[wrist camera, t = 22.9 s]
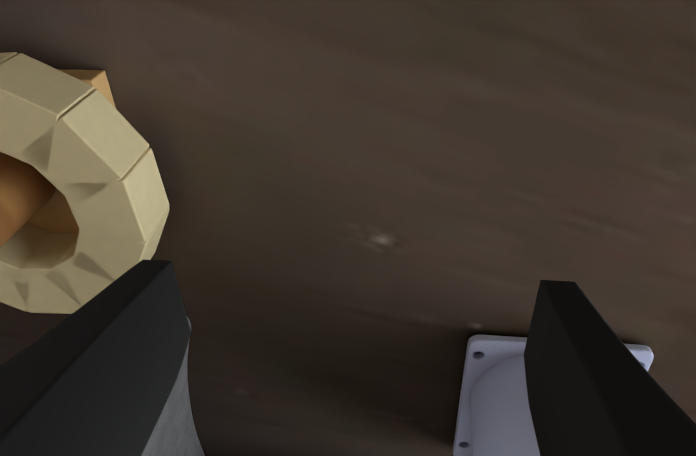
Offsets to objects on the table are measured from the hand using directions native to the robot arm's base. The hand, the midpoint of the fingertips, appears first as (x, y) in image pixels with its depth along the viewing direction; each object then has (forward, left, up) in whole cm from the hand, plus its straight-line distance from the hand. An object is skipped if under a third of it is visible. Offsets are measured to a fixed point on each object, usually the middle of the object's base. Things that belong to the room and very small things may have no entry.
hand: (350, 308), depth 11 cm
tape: (-3, +13, -9) cm, 17 cm away
